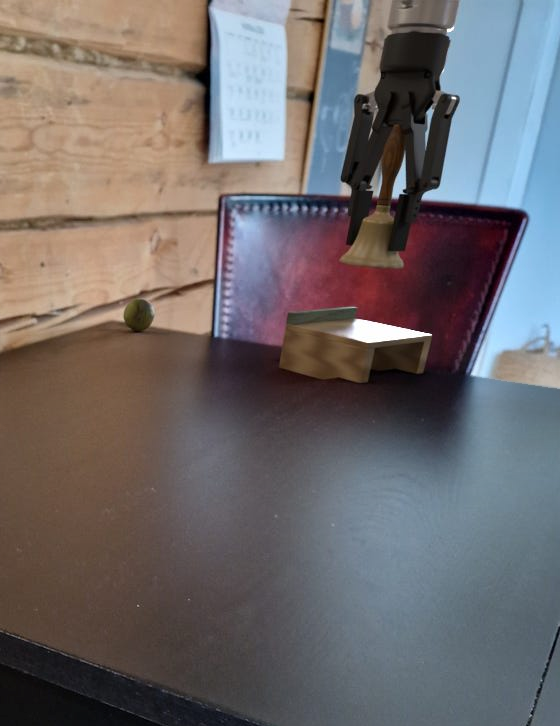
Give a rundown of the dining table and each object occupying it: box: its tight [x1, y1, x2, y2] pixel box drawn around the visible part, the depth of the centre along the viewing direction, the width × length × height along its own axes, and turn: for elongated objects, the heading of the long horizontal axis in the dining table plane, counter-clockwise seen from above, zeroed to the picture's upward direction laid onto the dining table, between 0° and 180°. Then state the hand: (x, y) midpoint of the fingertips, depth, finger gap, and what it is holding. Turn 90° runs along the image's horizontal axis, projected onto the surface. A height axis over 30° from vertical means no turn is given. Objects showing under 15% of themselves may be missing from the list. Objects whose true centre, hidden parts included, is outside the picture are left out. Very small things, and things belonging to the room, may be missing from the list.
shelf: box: [278, 306, 433, 384], centre depth 119 cm, size 14×14×8 cm
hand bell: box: [339, 125, 405, 270], centre depth 110 cm, size 8×8×16 cm
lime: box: [122, 298, 155, 332], centre depth 139 cm, size 4×5×5 cm
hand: (374, 247), depth 113 cm, fingers closed on hand bell, 6 cm apart
